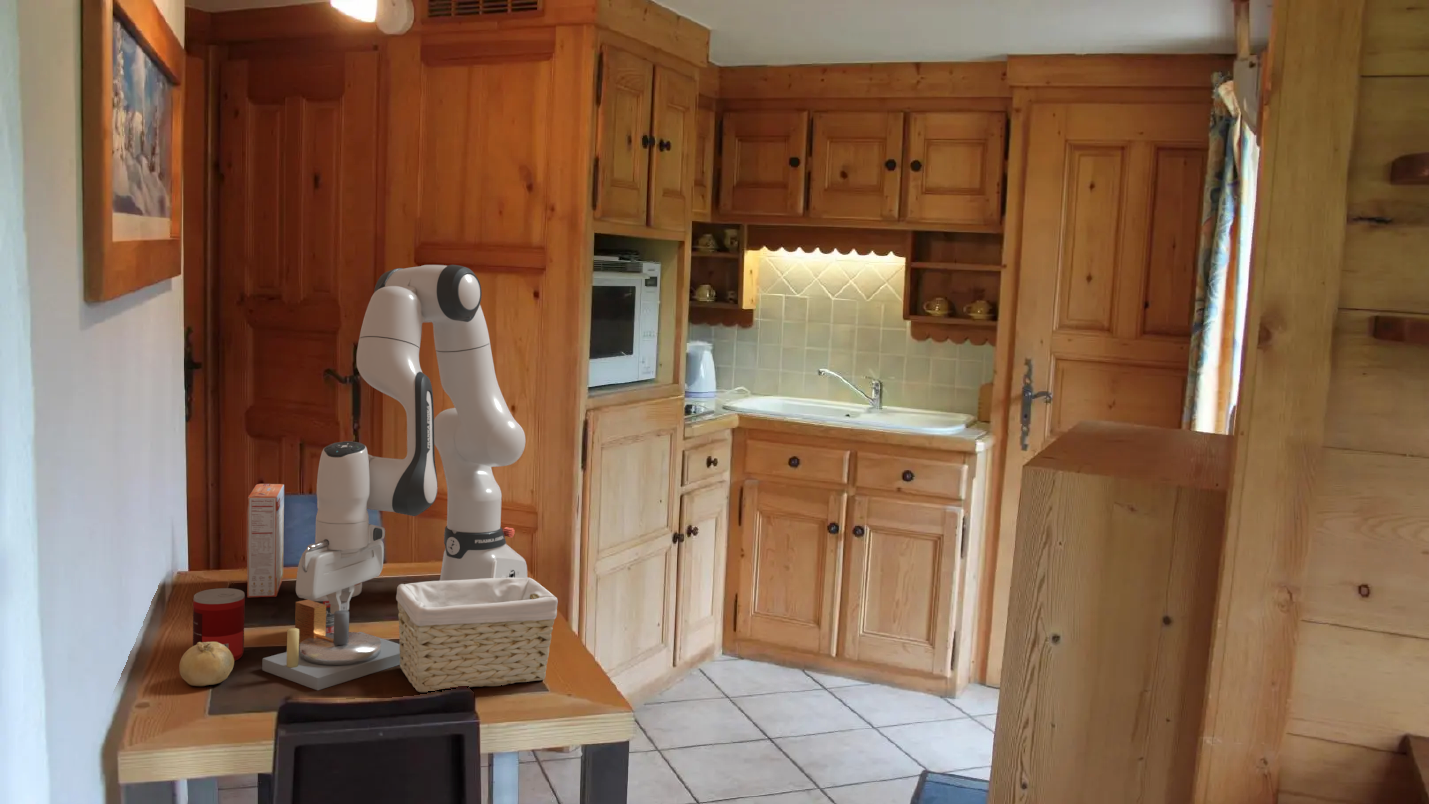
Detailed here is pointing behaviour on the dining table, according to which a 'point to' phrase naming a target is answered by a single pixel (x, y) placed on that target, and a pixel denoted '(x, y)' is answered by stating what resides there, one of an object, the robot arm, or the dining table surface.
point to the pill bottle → (327, 613)
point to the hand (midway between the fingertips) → (339, 612)
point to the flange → (330, 639)
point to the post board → (328, 675)
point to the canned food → (220, 618)
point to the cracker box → (265, 540)
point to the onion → (206, 664)
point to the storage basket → (474, 632)
